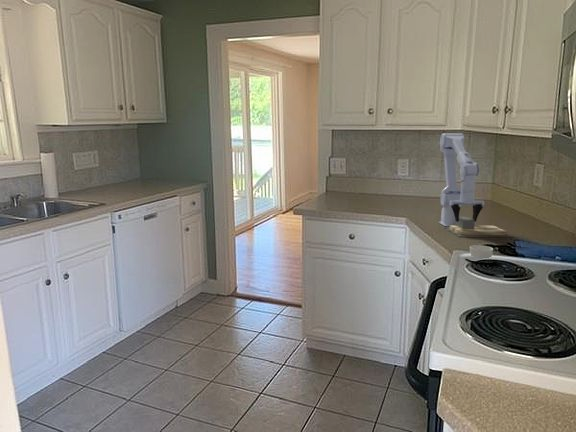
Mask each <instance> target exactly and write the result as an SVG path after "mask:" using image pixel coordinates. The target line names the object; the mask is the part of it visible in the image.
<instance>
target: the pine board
mask: <svg viewBox="0 0 576 432" xmlns="http://www.w3.org/2000/svg"><path fill="white" fill-rule="evenodd" d="M443 229H445V230H446V231H448V232H450V233H451V234H453V235H455V236H456V237H458V238H514V235H512V234H509V233H508V231H507V230H505V229H502V228H500V227H498V226H496V225H493V224H492V225H491V224H490V225H489V224H486V225H485V224H484V225H483V224H481V225H480V224H477V225H476V224H474V230H462V229H460V228H459V227H457V225H449V226H444V228H443Z"/></svg>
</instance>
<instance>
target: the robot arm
mask: <svg viewBox="0 0 576 432" xmlns="http://www.w3.org/2000/svg"><path fill="white" fill-rule="evenodd" d="M464 143H465V136H464V133H462V132H460V133H458V132H457V133H453V132H452V133H449V132H448V133H445V132H444V133H442V134H440V138H439V149H440V152H441V153H442V154H443V161H444V176H445V187H444V188H442V190H441V191H440V197H439V202H440V205H441V206H442V208H441V212H440V213H441V216H440V221H438V223H439V224H440V225H442V226H444V227H449V225H457V222H459V217H460V210H461V208H462V206H472V219H473V220H474V223H476V222H477V219H478V216H479V215H480V213H481V211H482V210H483V208H484V206H485V200H478V199H476V200H475V197H476V196H475V195H476V194H475V193H476V181H477V180H476V179H477V177H478V175H479V173H480V166H479V163H478V162H475V161H473V158H472V156H471V154H470V153H469V152H468V151H466V149H465V145H464ZM456 161H457V163H458V165H459V175H460V180H461V181H460V183H461V184H460V186H459V185H458V177H457V169H456V168H457V167H456Z"/></svg>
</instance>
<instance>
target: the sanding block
mask: <svg viewBox="0 0 576 432" xmlns="http://www.w3.org/2000/svg"><path fill="white" fill-rule="evenodd" d="M474 225H475V222H474V220H473V218H472V217H469V216H459V222H457V227H459V228H460V229H462V230H474Z"/></svg>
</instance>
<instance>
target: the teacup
mask: <svg viewBox="0 0 576 432" xmlns="http://www.w3.org/2000/svg"><path fill="white" fill-rule="evenodd" d="M493 252H494V248H493V247H491V246H487V245H481V244H480V245H478V244H477V245H476V244H475V245H470V246H469V253H470V254H471V255H470V254H469V255H470V256H473V257H476V258H489V257H491V258H492V256H493V254H494V253H493Z"/></svg>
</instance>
